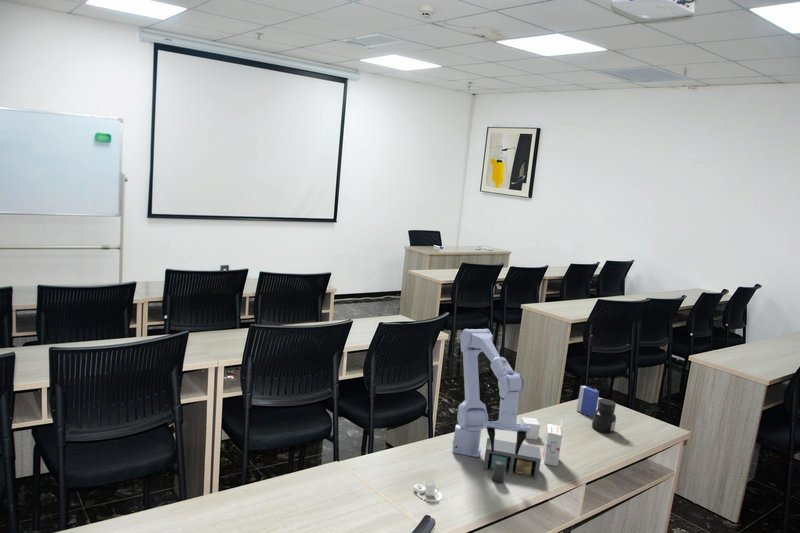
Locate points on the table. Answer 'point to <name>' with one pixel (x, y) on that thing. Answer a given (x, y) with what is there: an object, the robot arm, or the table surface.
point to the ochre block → (523, 466)
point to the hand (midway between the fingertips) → (504, 452)
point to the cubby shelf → (509, 451)
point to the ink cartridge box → (552, 444)
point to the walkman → (587, 400)
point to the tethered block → (498, 467)
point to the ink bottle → (604, 416)
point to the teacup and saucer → (428, 490)
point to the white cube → (531, 427)
